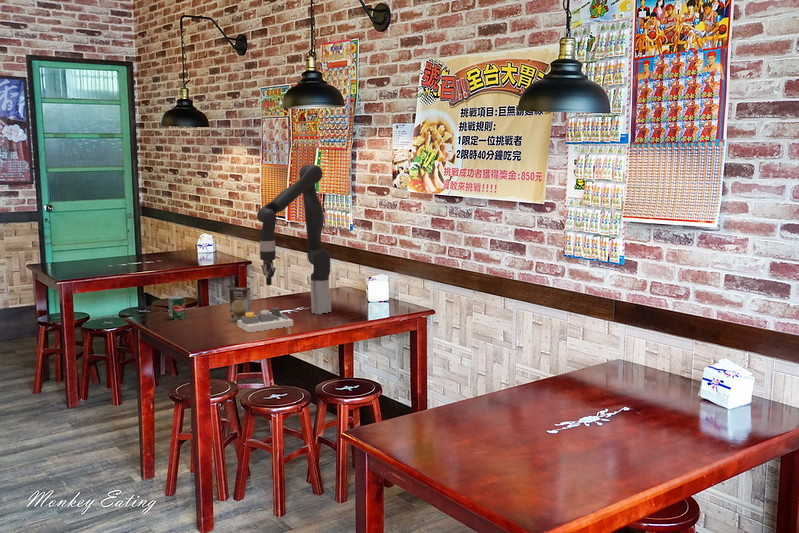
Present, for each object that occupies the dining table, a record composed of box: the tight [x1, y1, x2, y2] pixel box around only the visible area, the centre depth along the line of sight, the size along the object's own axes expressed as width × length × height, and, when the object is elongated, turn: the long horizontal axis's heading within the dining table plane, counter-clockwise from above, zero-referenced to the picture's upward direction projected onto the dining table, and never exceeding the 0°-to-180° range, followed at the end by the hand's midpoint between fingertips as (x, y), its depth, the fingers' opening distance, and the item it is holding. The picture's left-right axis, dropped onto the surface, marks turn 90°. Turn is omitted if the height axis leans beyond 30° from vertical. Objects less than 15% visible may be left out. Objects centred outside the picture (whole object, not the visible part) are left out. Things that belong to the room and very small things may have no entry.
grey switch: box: [260, 309, 270, 317], centre depth 352 cm, size 4×4×3 cm
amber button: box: [245, 311, 255, 319], centre depth 348 cm, size 4×4×3 cm
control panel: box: [237, 312, 294, 334], centre depth 352 cm, size 22×15×6 cm
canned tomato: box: [167, 295, 187, 321], centre depth 371 cm, size 8×8×11 cm
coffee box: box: [229, 286, 252, 323], centre depth 365 cm, size 9×6×16 cm
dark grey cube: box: [270, 307, 281, 317], centre depth 359 cm, size 3×3×4 cm
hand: (268, 285), depth 363 cm, fingers closed
